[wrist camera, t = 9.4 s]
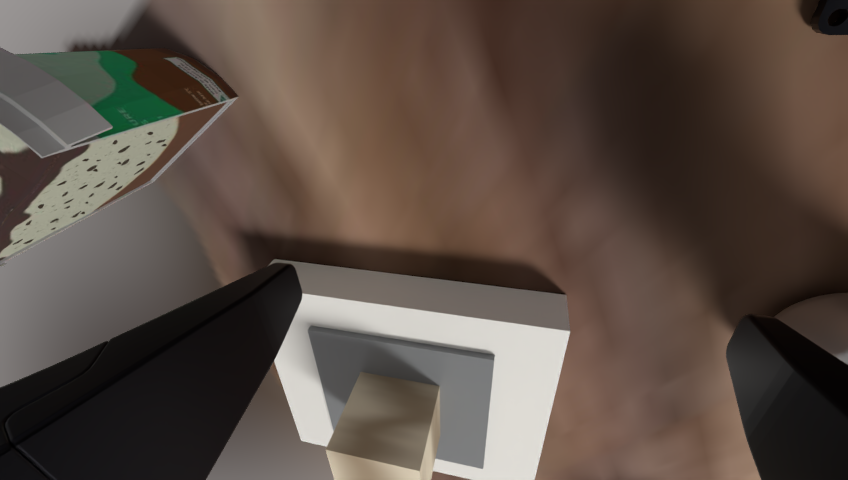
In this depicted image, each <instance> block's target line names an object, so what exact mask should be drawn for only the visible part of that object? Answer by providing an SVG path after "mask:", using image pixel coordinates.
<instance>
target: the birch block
mask: <svg viewBox="0 0 848 480" xmlns="http://www.w3.org/2000/svg"><path fill="white" fill-rule="evenodd" d="M439 438H440V386H437V385H431V384H425V383H420V382H414V381H409V380H403V379H398V378H392V377H387V376H381V375H375V374H370V373H364V372H360V374H359V377H358V379H357V381H356V383H355V385H354V388H353V390H352V392H351V394H350V397H349V399H348V401H347V403H346V405H345V408H344V410H343V412H342V414H341V417H340V419H339V421H338V423H337V425H336V428H335V430H334V432H333V434H332V437H331V439H330V441H329V443H328V445H327V448H326V453H327V456H328V459H329V463H330V466H331V470H332V473H333V477H334V480H431V477H432V472H433V467H434V463H435V458H436V453H437V448H438V443H439Z"/></svg>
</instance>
